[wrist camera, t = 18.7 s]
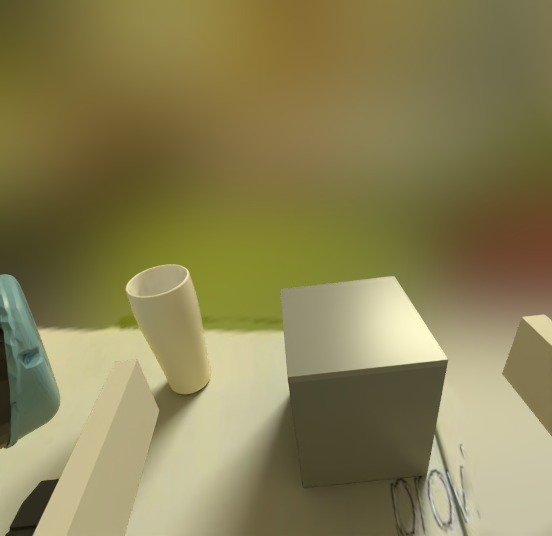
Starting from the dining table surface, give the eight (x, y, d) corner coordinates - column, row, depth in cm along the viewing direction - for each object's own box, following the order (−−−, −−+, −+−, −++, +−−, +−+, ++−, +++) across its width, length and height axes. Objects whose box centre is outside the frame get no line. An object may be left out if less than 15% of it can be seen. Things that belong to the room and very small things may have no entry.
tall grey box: (303, 487, 31) (287, 377, 24) (293, 389, 40) (280, 289, 33) (426, 475, 30) (447, 359, 23) (387, 378, 40) (394, 276, 33)
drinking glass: (152, 390, 42) (109, 290, 35) (189, 354, 47) (158, 259, 40) (193, 410, 39) (155, 304, 32) (228, 369, 44) (202, 269, 37)
